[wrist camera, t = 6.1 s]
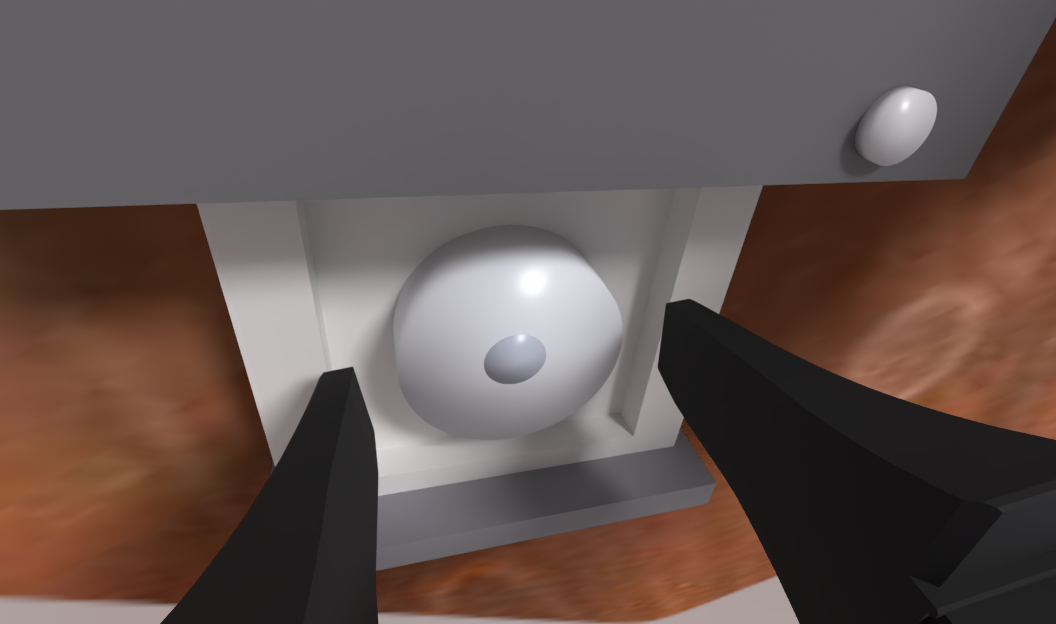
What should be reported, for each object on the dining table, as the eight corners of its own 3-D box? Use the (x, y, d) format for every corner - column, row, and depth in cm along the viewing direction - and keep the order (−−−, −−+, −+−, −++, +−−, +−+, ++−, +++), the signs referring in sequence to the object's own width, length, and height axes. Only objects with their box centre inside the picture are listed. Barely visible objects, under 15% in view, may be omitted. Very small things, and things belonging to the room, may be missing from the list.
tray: (659, 424, 19) (707, 503, 17) (278, 483, 16) (263, 593, 14) (757, 104, 13) (861, 150, 10) (161, 96, 10) (90, 159, 7)
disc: (601, 207, 13) (629, 238, 11) (596, 373, 16) (618, 412, 15) (369, 247, 12) (372, 286, 10) (415, 415, 15) (421, 461, 14)
